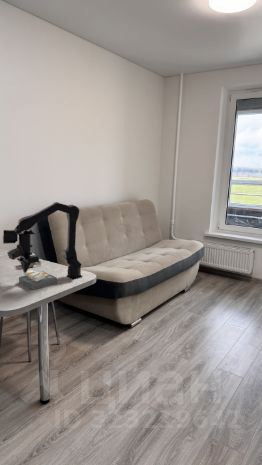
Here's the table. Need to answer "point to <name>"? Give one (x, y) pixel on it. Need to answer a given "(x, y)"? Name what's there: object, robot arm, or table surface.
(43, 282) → the switch unit
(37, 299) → the table surface
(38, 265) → the ceramic mug
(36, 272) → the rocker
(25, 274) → the rocker
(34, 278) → the rocker
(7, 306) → the table surface
